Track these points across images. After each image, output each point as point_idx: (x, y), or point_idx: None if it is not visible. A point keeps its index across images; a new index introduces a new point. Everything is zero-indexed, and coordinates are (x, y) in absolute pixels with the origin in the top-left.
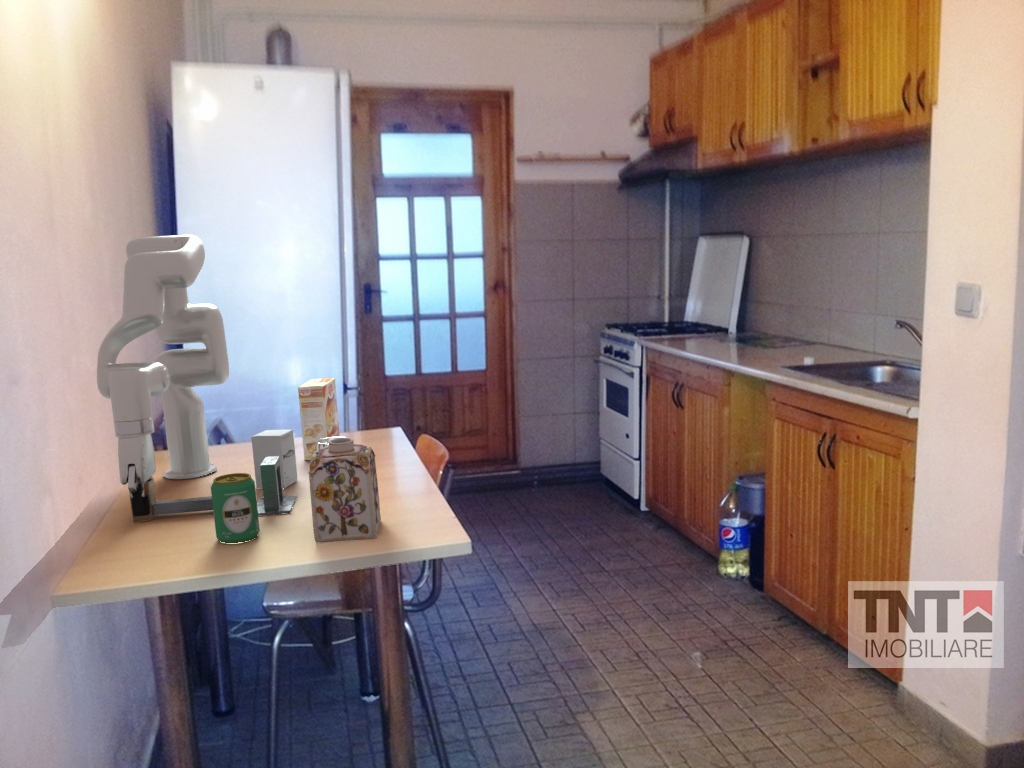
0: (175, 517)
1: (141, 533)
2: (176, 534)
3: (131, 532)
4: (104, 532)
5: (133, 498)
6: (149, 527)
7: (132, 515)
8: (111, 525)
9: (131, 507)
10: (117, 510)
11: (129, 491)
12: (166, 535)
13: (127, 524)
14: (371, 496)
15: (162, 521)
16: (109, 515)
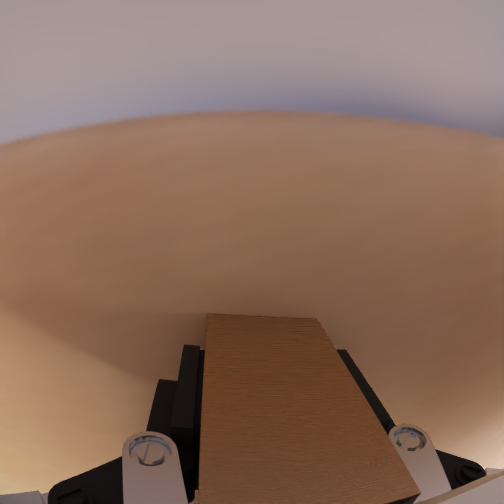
0: None
1: (20, 369)
2: (19, 453)
3: (32, 331)
4: (55, 193)
5: (171, 435)
6: (90, 395)
7: (207, 332)
8: (181, 196)
9: (204, 362)
10: (474, 178)
11: (201, 459)
12: (8, 433)
13: (168, 290)
14: None
15: None
16: (411, 145)
